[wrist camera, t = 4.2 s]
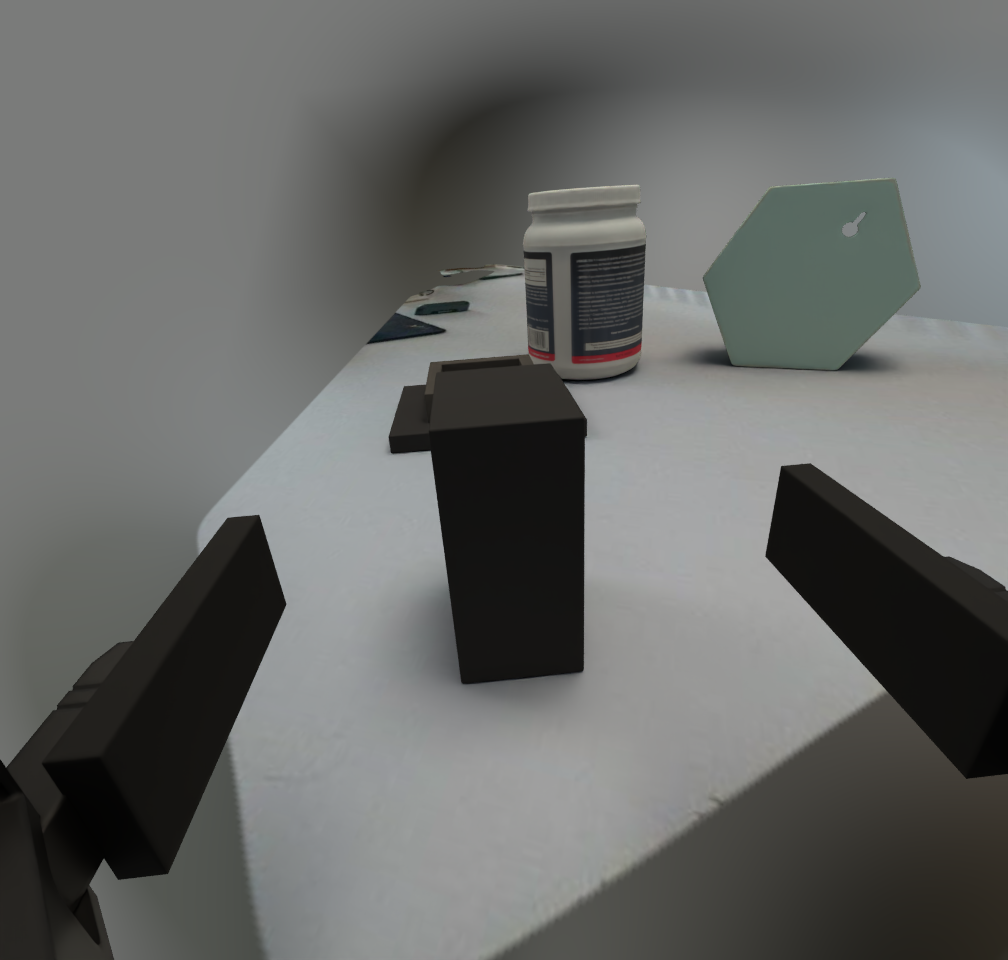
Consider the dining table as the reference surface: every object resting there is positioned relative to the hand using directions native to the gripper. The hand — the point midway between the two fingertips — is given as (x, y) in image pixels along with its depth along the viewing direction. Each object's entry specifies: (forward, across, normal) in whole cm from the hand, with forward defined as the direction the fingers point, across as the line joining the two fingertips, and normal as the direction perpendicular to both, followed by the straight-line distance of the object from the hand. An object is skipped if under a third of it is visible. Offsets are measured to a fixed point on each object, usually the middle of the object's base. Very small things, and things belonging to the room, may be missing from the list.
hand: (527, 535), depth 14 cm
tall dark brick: (+8, 0, -10) cm, 12 cm away
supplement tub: (+50, +12, -10) cm, 52 cm away
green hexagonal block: (+46, +34, -10) cm, 59 cm away
